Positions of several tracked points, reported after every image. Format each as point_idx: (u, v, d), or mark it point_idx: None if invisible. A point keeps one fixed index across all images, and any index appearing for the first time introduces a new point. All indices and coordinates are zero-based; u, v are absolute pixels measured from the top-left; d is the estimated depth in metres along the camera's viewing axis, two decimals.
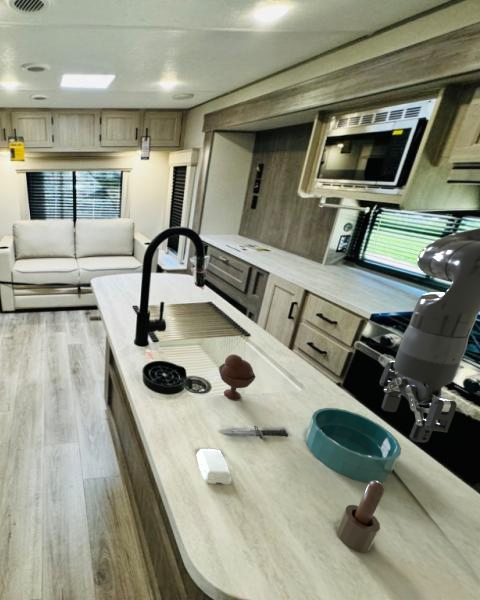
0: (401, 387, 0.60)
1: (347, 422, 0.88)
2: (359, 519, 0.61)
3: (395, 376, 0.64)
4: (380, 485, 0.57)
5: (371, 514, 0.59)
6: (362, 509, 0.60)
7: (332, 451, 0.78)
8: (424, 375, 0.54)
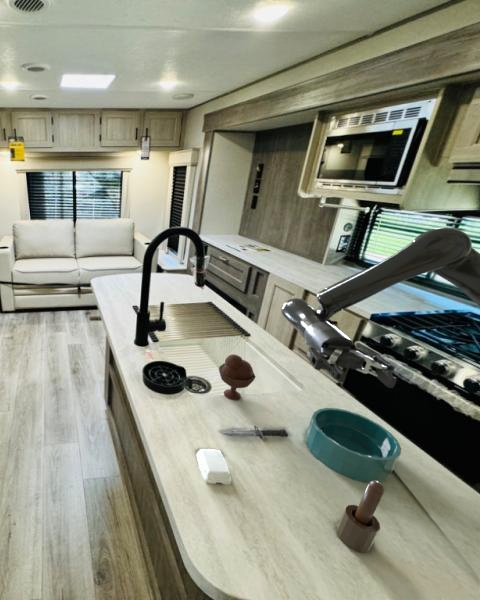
0: None
1: (347, 422, 0.88)
2: (359, 519, 0.61)
3: (378, 363, 0.68)
4: (380, 485, 0.57)
5: (371, 514, 0.59)
6: (362, 509, 0.60)
7: (332, 451, 0.78)
8: None
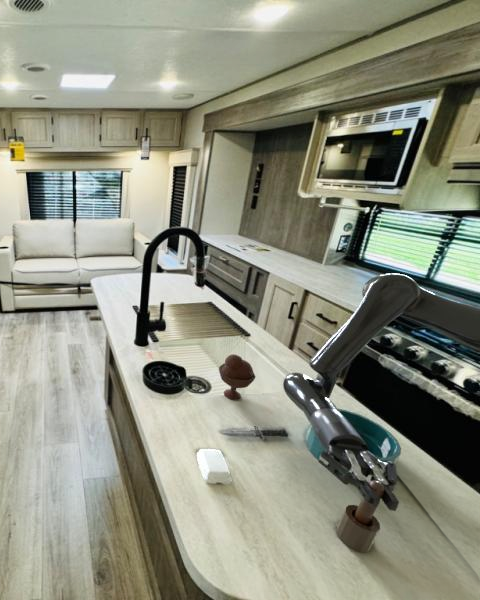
0: None
1: None
2: (359, 519, 0.61)
3: (386, 473, 0.61)
4: (380, 485, 0.57)
5: (371, 514, 0.59)
6: (362, 509, 0.60)
7: None
8: (323, 447, 0.70)
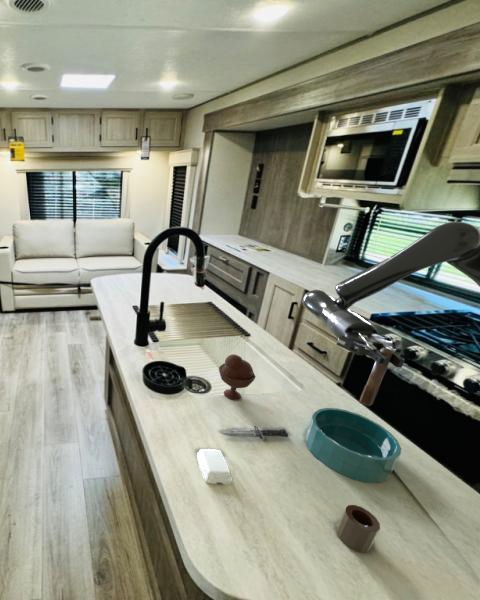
0: None
1: (347, 422, 0.88)
2: (371, 384, 0.73)
3: (393, 347, 0.74)
4: (389, 349, 0.70)
5: (381, 377, 0.72)
6: (373, 374, 0.73)
7: (332, 451, 0.78)
8: None
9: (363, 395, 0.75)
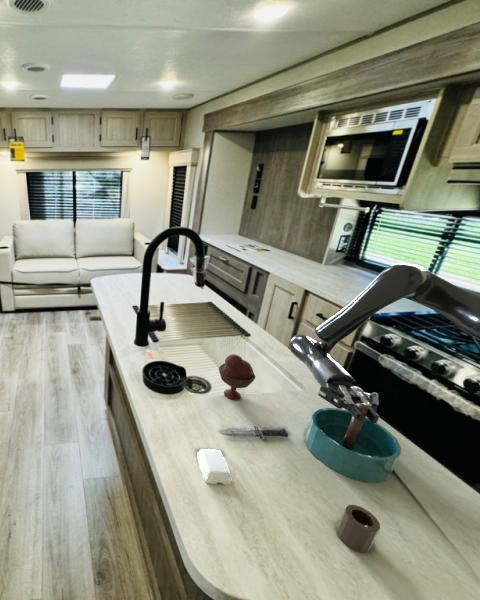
0: None
1: (347, 422, 0.88)
2: (349, 435, 0.79)
3: (370, 400, 0.79)
4: (365, 405, 0.75)
5: (358, 430, 0.77)
6: (352, 426, 0.78)
7: (332, 451, 0.78)
8: (322, 387, 0.88)
9: (343, 445, 0.80)
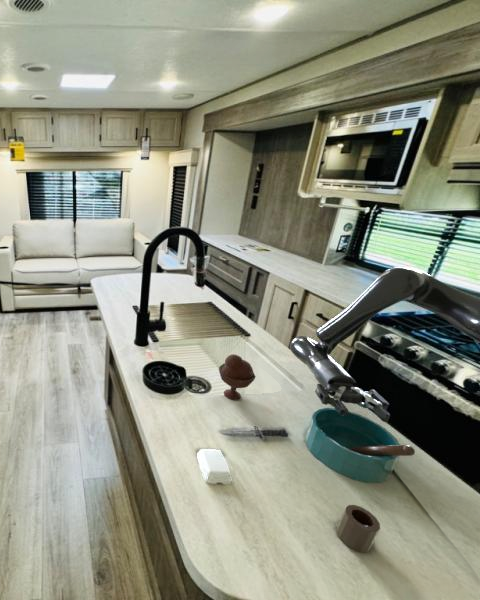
0: None
1: (347, 422, 0.88)
2: (367, 452, 0.77)
3: (375, 399, 0.82)
4: (413, 452, 0.69)
5: (382, 455, 0.75)
6: (378, 451, 0.75)
7: (332, 451, 0.78)
8: None
9: (351, 450, 0.80)
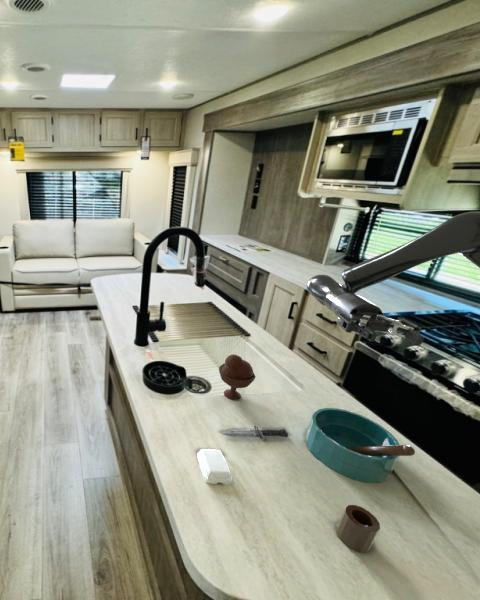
0: None
1: (347, 422, 0.88)
2: (367, 452, 0.77)
3: None
4: (413, 452, 0.69)
5: (382, 455, 0.75)
6: (378, 451, 0.75)
7: (332, 451, 0.78)
8: None
9: (351, 450, 0.80)
